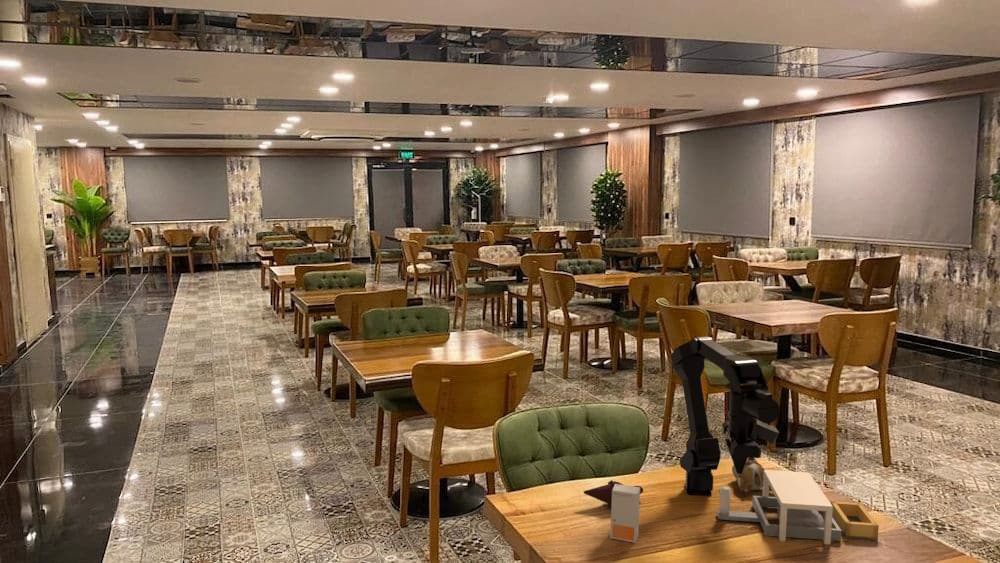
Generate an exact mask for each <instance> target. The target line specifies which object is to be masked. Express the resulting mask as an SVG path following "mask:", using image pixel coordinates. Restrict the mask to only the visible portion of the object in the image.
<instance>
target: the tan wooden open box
mask: <svg viewBox="0 0 1000 563" xmlns="http://www.w3.org/2000/svg"><path fill="white" fill-rule="evenodd" d="M830 503H831V505H832V506H833V510H832V517H833V519H834V520H835V521H836V523H837V524H838V526H839V527H840V529H841V530H842V535H843V536H844V538H845V539H853V540H854V539H856V540H868V541H879V539H878V538H879V528H880V527H879V524H878V523H877V521H876V520H875V518H873V517H872V515H871V514H870V513H869V512H868V510H867V509H866V508H865V506H864V505H863V504H862V503H861V502H860V503H859V502H845V501H844V502H843V501H830Z"/></svg>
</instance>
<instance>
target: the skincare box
mask: <svg viewBox="0 0 1000 563" xmlns="http://www.w3.org/2000/svg"><path fill="white" fill-rule="evenodd" d="M634 486H635V485H628V484H627V485H626V484H623V485H620V484H615V485H614V488H613V490H612V505H611V510H610V540H611V539H612V540H619V541H623V542H624V541H625V542H629V543H634V544H636V542H637V539H638V536H639V528H640V527H639V526H640V505H641V503H640V502H641V499H640V498H641V497H640V496H641V494H640V487H641V486H640V487H634Z"/></svg>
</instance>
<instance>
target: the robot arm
mask: <svg viewBox="0 0 1000 563" xmlns="http://www.w3.org/2000/svg"><path fill="white" fill-rule="evenodd" d="M670 360H671V363H672V366H673V369H674V372H675V374H677V376H678V377H679V378H680V380H681V381H682V388H683V395H684V401H685V408H686V414H687V421H688V428H689V436H688V438H687V441H686V442H685V447H686V448H685V449H686V450H685V451H686V452H685V453H684V454H683V455H682V456H681V457H680V458H679V464H680V466H679V467H680V468H681V469H683V470H684V471H685V483H684V489H685V493H686V494H687V495H695V496H696V495H698V496H712V494H713V493H712V491H713V490H714V475H713V473H712V471H717V470H718V467H719V464H720V461H721V458H722V455H721V454H722V452H721V449H720V441H719V439H718V438H717V437H714V436H713V435H712V433H711V432H710V429H709V421H708V417H707V416H708V415H707V411H706V405H705V404H706V403H705V398H704V392H703V386H702V380H701V377H702V375H703V372H704V370H705V366H706V364H705V361H706V360H708V361H709V362H711V363H712V364H714V365H715V366H717V367H718V368H720V369H721V370H722V372H723V374H722V375H723V376H724V378H725V379H726V380H727V381H728V383H727V384H725V388H726V389H727V390H729V409H728V410H727V417H728V420H726V421H724V422H723V423H722V424H721V433H722V435H726V434H727V435H728V438H725V439H724V440H725V444H726V446H727V449H728V452H729V455H730V458H731V461H732V463H733V465H734V466H735V469H736V472H737V474H742V472H743V469H744V466H745V463H746V460H747V458H755V459H760V458H762V449H761V447H760V446H759V444H758V443H757V442H756V441H755V440H757V438H758V439H761V440H764V441H765V442H768V444H771V445H774V444H775V442H776V440H777V438H778V436H779V433H780V431H779V430H778V429H777V428H776V427H775V426H774V425H771V424H772V423H773V422H775V421H776V420H777V419H778V417H779V415H780V411H781V408H780V407H779V403H778V402H777V401H776V400H775V399H774V395H773V394H772V393H770V392H767V391H769V387H768V381H767V379H766V378H765V375H764V373H763V372H764V371H763V370H762V367H761V365H760V363H759V361H757V360H756V359H754V358H751V357H748V356H742V355H738V354H735V353H734V352H733V351H731V350H728V349H727V348H725V347H724V346H723V345H721V344H719V343H717V342H716V341H714V340H713V338H712V337H710V336H696V337H693V338H691V339H690V340H689V341H688V342H686V343H684V344H681V345H679V346H676V347H675V348H674V349H673V351H672V352H671V354H670Z"/></svg>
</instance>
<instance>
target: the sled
mask: <svg viewBox="0 0 1000 563" xmlns="http://www.w3.org/2000/svg"><path fill="white" fill-rule="evenodd" d="M751 501H752V504H751V505H752V508H753V509H754V512H749V511H737V510H730V508H731V487H729V486H720V488H719V509H716V515H717V517H718V520H724V521H725V520H726V521H737V522H739V521H740V522H749V523H750V522H751V523H754V522H755V523H760V526H761V528H762V530H763V532H764V534H765V536H767V537H769V536H771V537H779V525H780V524H778V523H777V524H776V523H775V524H773V523H770V522H769V521H768V519H767V516H766V515H765V512H764V510H763V508H773V509H774V508H775V509H778V505H779V502H778V500H777V498H776V496H768V497H766V496H763V495H752V500H751ZM818 513H819V514H821V516H822V517H823V520H824V522H825V511H818ZM842 535H843V533H842V530H841V529H840V527H839V526H838V524H837V523H836V521H835V520H834V519H833V517H832V526H831V541H838V542H841V541H842ZM786 538H797V539H808V540H812V539H813V540H822V541H823V538H824V528H819V527H805V526H791V525H786Z"/></svg>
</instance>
